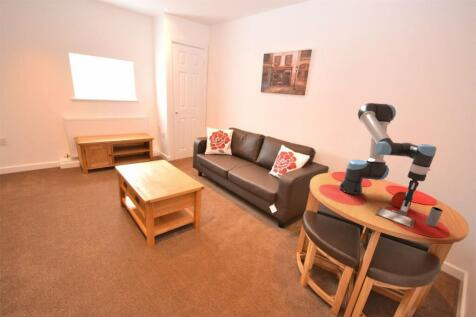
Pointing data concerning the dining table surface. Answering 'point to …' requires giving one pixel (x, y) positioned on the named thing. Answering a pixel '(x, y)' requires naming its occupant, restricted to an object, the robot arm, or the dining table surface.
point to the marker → (408, 207)
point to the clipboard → (395, 217)
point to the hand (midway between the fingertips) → (404, 209)
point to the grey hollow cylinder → (434, 216)
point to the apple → (398, 199)
